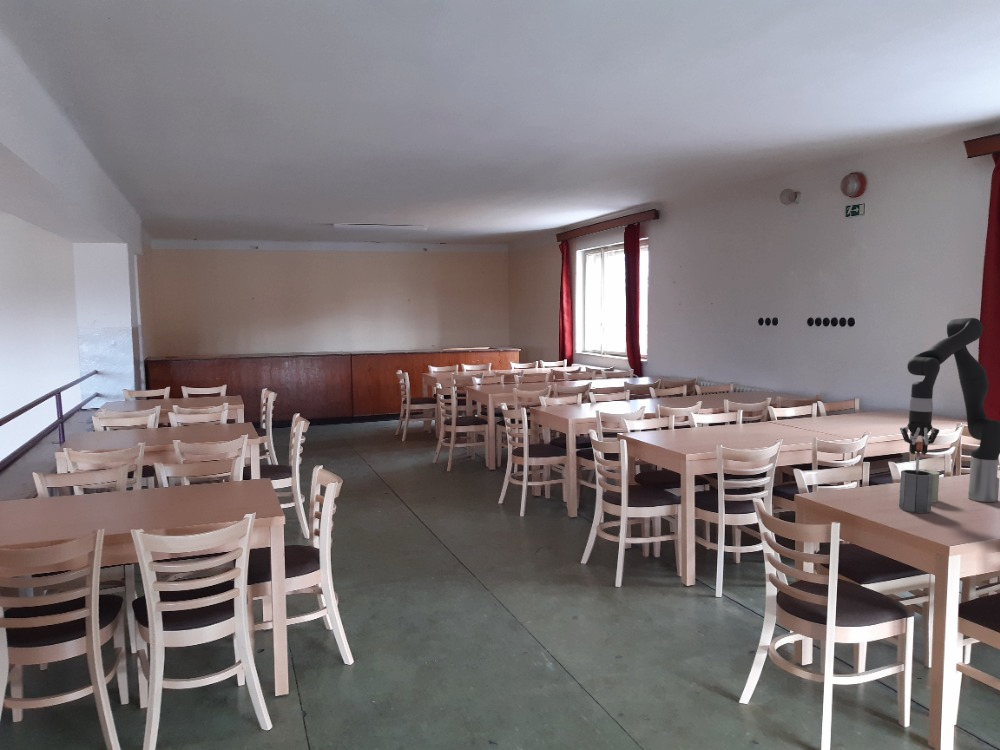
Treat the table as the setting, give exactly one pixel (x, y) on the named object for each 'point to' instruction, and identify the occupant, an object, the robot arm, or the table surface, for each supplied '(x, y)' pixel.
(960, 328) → the robot arm
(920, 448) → the plunger
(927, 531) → the table surface
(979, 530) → the table surface
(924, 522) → the table surface
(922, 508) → the grey faceted pot
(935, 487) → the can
